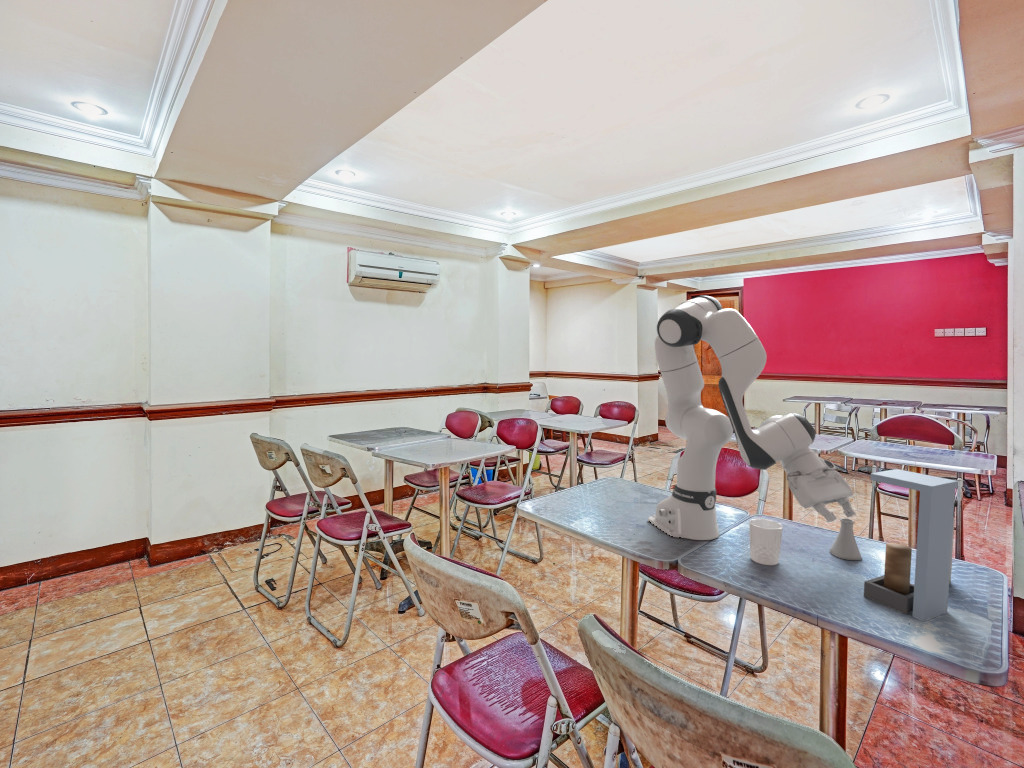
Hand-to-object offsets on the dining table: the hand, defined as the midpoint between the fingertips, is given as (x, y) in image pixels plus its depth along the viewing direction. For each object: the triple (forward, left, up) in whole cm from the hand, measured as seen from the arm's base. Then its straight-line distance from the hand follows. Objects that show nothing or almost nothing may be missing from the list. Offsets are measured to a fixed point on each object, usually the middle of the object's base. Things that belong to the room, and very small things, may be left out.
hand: (842, 518), depth 122 cm
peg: (+14, -3, -14) cm, 20 cm away
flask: (-6, +12, -14) cm, 20 cm away
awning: (+15, -2, -14) cm, 21 cm away
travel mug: (+12, +17, -14) cm, 25 cm away
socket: (+14, -3, -14) cm, 20 cm away
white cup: (-13, -11, -14) cm, 22 cm away
